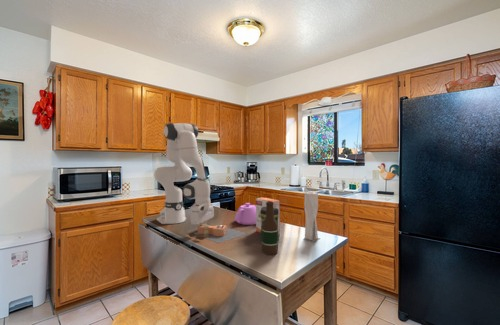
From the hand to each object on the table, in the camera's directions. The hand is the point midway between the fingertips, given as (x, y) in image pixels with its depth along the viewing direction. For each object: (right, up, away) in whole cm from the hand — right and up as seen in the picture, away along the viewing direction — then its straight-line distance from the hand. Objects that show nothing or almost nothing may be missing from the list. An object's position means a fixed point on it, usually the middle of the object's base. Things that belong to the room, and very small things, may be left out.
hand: (203, 228), depth 143 cm
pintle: (+11, -3, -5) cm, 12 cm away
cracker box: (+38, -3, -3) cm, 38 cm away
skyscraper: (+62, -3, -10) cm, 63 cm away
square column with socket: (+6, -2, -4) cm, 7 cm away
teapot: (+28, -2, +20) cm, 35 cm away
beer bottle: (+37, -4, -29) cm, 47 cm away
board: (+10, -3, -3) cm, 11 cm away
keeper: (+3, -3, -7) cm, 8 cm away
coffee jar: (+38, -3, -14) cm, 41 cm away
